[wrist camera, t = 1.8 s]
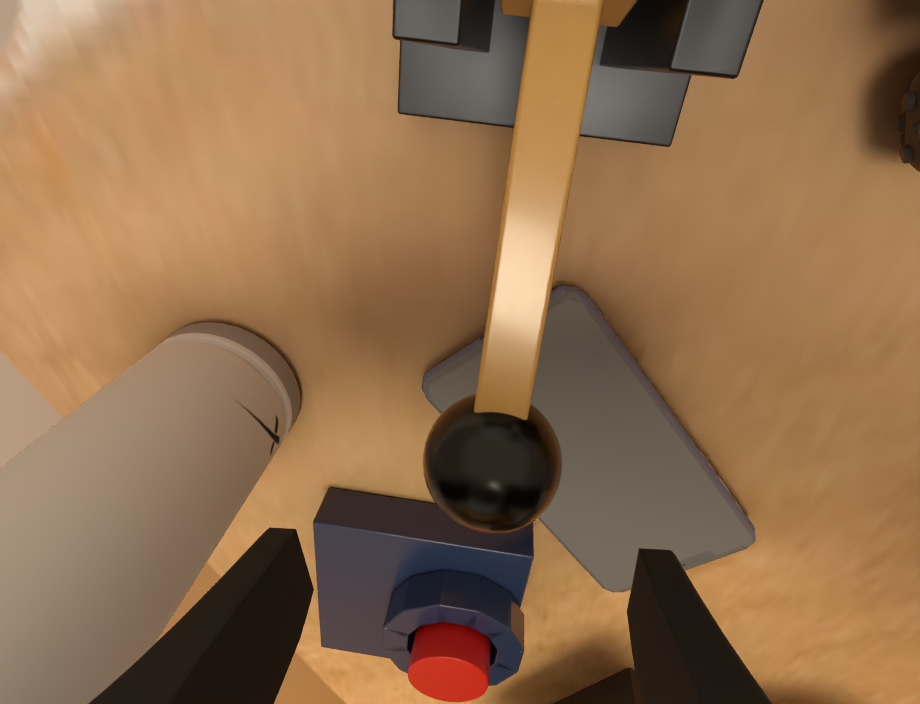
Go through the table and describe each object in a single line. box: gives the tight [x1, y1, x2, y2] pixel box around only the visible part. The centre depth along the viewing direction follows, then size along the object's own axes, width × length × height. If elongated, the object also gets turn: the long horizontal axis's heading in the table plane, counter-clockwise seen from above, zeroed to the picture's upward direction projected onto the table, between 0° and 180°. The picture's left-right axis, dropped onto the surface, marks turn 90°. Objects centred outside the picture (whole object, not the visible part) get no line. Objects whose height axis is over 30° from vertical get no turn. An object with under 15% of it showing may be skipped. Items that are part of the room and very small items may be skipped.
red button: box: [408, 622, 491, 702], centre depth 23 cm, size 4×4×2 cm
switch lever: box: [423, 0, 638, 534], centre depth 9 cm, size 13×3×3 cm, turn 174°
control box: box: [313, 488, 534, 686], centre depth 25 cm, size 10×10×4 cm
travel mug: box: [0, 322, 301, 704], centre depth 13 cm, size 6×7×20 cm
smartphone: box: [422, 285, 755, 592], centre depth 21 cm, size 8×1×15 cm
